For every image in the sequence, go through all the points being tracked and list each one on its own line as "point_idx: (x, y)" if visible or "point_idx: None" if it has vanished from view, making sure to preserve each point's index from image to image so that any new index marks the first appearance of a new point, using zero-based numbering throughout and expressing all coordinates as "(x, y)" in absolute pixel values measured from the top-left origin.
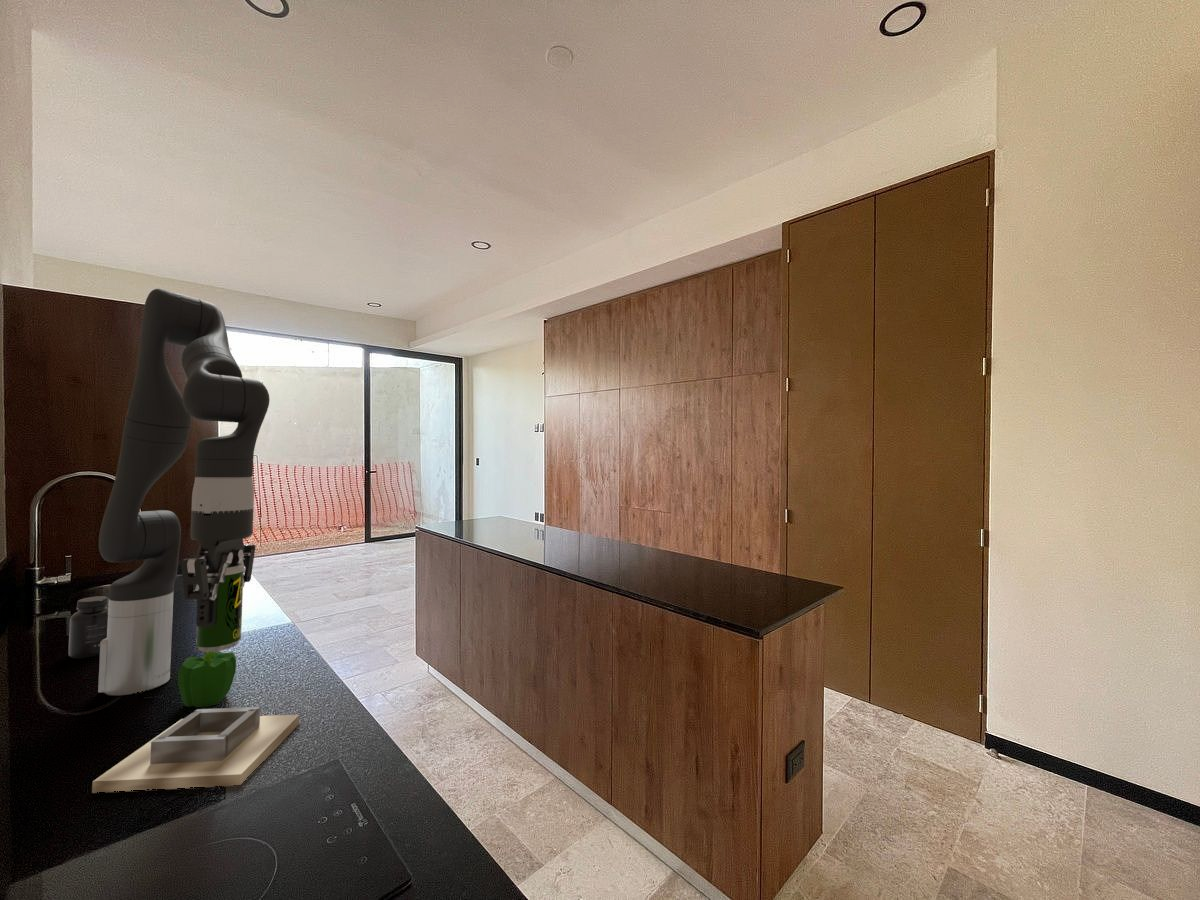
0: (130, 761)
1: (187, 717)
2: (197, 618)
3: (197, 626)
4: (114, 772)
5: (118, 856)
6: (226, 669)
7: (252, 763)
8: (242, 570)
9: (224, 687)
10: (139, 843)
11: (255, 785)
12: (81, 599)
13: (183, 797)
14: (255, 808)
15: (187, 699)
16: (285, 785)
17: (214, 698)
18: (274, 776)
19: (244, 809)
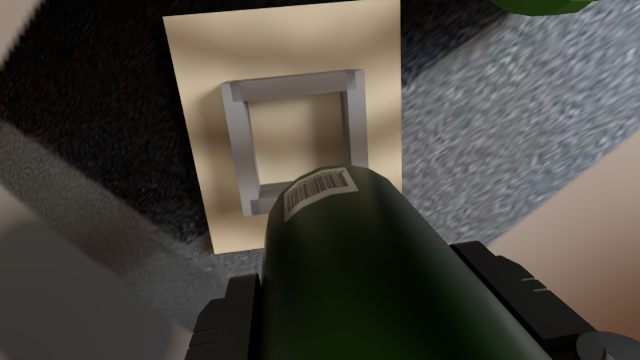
0: (230, 33)
1: (324, 78)
2: (197, 328)
3: (278, 234)
4: (194, 33)
5: (56, 197)
6: (548, 13)
7: (247, 248)
8: None
9: (517, 13)
10: (83, 203)
11: (221, 263)
12: None
13: (182, 184)
14: (174, 294)
15: None
16: None
17: (492, 2)
18: (244, 274)
19: (169, 282)
